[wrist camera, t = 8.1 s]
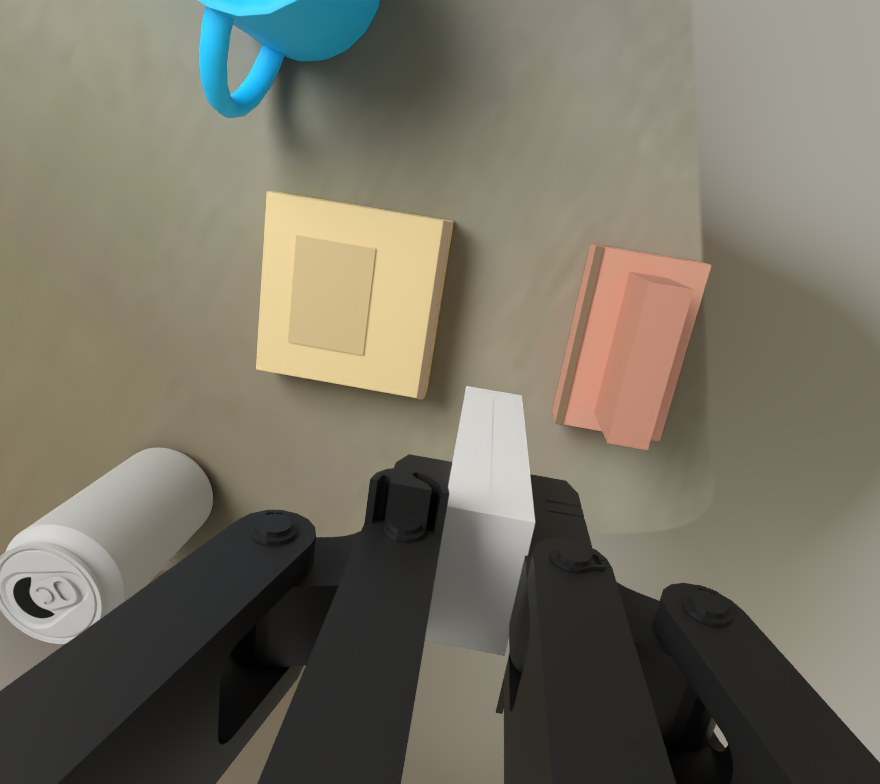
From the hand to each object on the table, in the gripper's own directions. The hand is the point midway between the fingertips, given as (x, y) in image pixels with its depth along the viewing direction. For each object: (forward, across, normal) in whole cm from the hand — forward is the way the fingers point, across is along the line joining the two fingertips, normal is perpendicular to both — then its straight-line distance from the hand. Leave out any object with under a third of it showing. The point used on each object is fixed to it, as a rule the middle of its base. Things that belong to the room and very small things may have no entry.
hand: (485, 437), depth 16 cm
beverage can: (+20, -19, -15) cm, 31 cm away
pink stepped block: (+20, +8, 0) cm, 21 cm away
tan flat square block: (+20, -8, 0) cm, 21 cm away
